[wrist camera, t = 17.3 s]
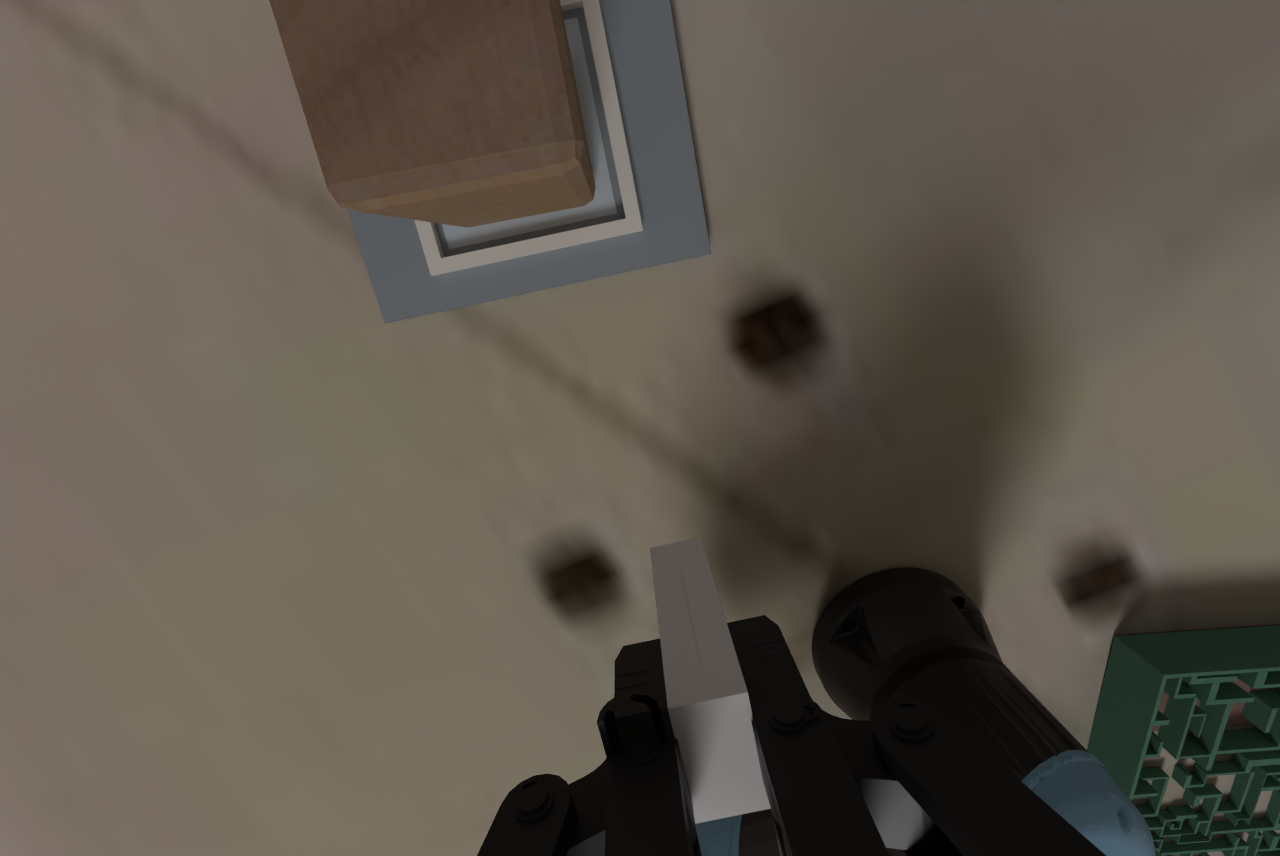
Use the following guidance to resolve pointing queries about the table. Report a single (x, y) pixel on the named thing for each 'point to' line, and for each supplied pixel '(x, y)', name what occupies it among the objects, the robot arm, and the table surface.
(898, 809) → the robot arm
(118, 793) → the table surface
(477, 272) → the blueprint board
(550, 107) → the wooden block
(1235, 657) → the maze
